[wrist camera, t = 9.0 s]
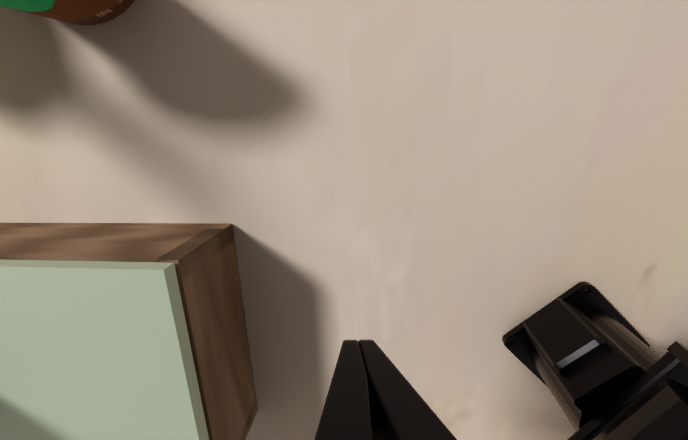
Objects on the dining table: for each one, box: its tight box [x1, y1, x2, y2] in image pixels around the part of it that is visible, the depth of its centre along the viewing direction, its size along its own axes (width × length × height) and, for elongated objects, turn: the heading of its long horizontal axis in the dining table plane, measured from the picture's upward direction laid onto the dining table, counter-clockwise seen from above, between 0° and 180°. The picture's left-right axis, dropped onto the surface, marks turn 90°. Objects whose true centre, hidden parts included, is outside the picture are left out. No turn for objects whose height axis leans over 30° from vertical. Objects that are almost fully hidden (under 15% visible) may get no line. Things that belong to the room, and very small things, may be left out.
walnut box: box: [0, 223, 257, 440], centre depth 22 cm, size 20×16×6 cm
